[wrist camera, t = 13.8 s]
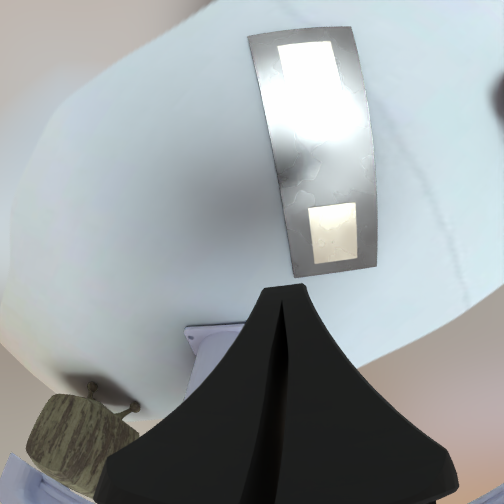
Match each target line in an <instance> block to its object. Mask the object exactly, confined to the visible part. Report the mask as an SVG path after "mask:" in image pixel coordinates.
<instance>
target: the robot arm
mask: <svg viewBox="0 0 504 504" xmlns="http://www.w3.org/2000/svg"><path fill="white" fill-rule="evenodd" d="M184 335H185V337H186V339H187V340H188V342H189V344H190V346H191V348H192V350H193V352H194V354H195V356H196V360H195V363H194V366H193V370H192V373H191V377H190V380H189V383H188V387H187V390H186V394H185V397H184V401H183V403H182V404H181V405H180V406H179V407H177V408H176V409H175V410H174V411H173V412H172V413H170V414H169V415H168V416H167V417H166V418H164V419H163V420H162V421H161V422H159V423H158V424H157V425H156V426H154V427H153V428H152V429H151V430H149V431H148V432H146V433H145V434H144V435H142V436H141V437H139V438H138V439H136V440H135V441H133V442H131V443H130V444H128V445H127V446H125V447H123V448H122V449H120V450H119V451H117V452H115V453H113V454H112V455H110V456H108V457H107V459H106V461H105V464H104V466H103V469H102V472H101V475H100V478H99V481H98V484H97V487H96V490H95V493H94V496H93V500H94V501H95V502H96V503H97V504H436V500H438V499H441V498H443V497H445V496H447V495H449V494H452V493H454V492H456V491H457V489H458V488H459V483H458V477H457V473H456V470H455V467H454V464H453V462H452V460H451V457H450V455H449V453H448V451H447V450H446V449H445V448H444V447H442V446H441V445H440V444H438V443H437V442H435V441H434V440H433V439H431V438H430V437H429V436H427V435H426V434H425V433H423V432H422V431H421V430H419V429H418V428H417V427H416V426H414V425H413V424H412V423H411V422H409V421H408V420H407V419H406V418H405V417H404V416H402V415H401V414H400V413H399V412H398V411H397V410H396V409H395V408H394V407H393V406H392V405H391V404H389V403H388V402H387V401H386V400H385V399H384V398H383V397H382V396H381V395H380V394H379V393H378V392H377V391H376V390H375V389H374V388H373V387H372V386H371V385H370V384H369V383H368V381H367V380H366V379H365V378H364V377H363V376H362V375H361V374H360V373H359V371H358V370H357V369H356V368H355V367H354V365H353V364H352V363H351V362H350V361H349V359H348V358H347V357H346V355H345V354H344V353H343V351H342V350H341V349H340V347H339V346H338V345H337V343H336V342H335V340H334V339H333V337H332V336H331V334H330V333H329V331H328V330H327V328H326V327H325V325H324V323H323V322H322V320H321V318H320V317H319V315H318V313H317V311H316V309H315V307H314V305H313V303H312V301H311V299H310V297H309V294H308V292H307V288H306V286H305V285H304V284H303V283H301V284H293V285H285V286H277V287H268V288H264V289H263V290H262V291H261V294H260V296H259V298H258V300H257V302H256V304H255V306H254V308H253V310H252V312H251V314H250V316H249V318H248V319H247V321H246V323H245V324H232V325H217V326H199V327H186V328H185V330H184ZM192 336H193V337H192ZM0 502H1V503H2V504H94V503H92V502H90V501H88V500H86V499H85V498H82V497H80V496H79V495H77V494H75V493H73V492H71V491H70V489H69V488H67V487H66V486H64V485H62V484H61V483H59V482H57V481H56V480H54V479H53V478H51V477H49V476H47V475H46V474H44V473H41V472H40V471H38V470H36V469H35V468H33V467H32V466H30V465H29V464H28V463H26V462H25V461H23V460H22V459H21V458H19V457H18V456H16V455H15V454H14V453H10V456H9V458H8V460H7V463H6V465H5V468H4V470H3V473H2V475H1V478H0ZM468 504H504V483H503V484H501V485H500V486H498V487H497V488H495V489H493V490H492V491H490V492H488V493H487V494H485V495H483V496H481V497H479V498H477V499H476V500H474V501H472V502H470V503H468Z"/></svg>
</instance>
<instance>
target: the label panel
mask: <svg viewBox="0 0 504 504" xmlns="http://www.w3.org/2000/svg"><path fill="white" fill-rule="evenodd" d="M248 40H249V44H250V48H251V52H252V56H253V61H254V65H255V69H256V73H257V78H258V82H259V87H260V91H261V96H262V100H263V105H264V110H265V114H266V119H267V124H268V129H269V134H270V139H271V144H272V149H273V154H274V159H275V165H276V170H277V175H278V181H279V186H280V192H281V198H282V203H283V209H284V215H285V221H286V227H287V233H288V240H289V246H290V252H291V259H292V266H293V272H294V278H299V277H307V276H314V275H322V274H329V273H336V272H343V271H350V270H357V269H363V268H370V267H376V266H377V189H376V172H375V159H374V148H373V138H372V130H371V122H370V115H369V108H368V102H367V96H366V90H365V85H364V79H363V74H362V69H361V65H360V60H359V56H358V52H357V48H356V44H355V40H354V36H353V32H352V29H351V27H316V28H303V29H293V30H284V31H276V32H270V33H263V34H258V35H252V36H248Z"/></svg>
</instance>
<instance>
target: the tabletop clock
mask: <svg viewBox="0 0 504 504" xmlns="http://www.w3.org/2000/svg"><path fill="white" fill-rule="evenodd" d="M87 387H88V390H89V391H90V392H89V395H88V398H83V397H79V396H74V395H67V394H56V395H53V396H52V397H51V398H50V399H49V400H48V402H47V403H46V405H45V407H44V408H43V410H42V412H41V413H40V415H39V417H38V419H37V421H36V423H35V425H34V427H33V429H32V431H31V434H30V436H29V439H28V441H27V445H26V451H27V453H28V455H29V456H30V458H31V459H32V461H33V462H34V464H35V465H36V466H37V467H38V468H39V469H40V470H41V471H42V472H44V473H45V474H46V475H47V476H49V477H51V478H53V479H54V480H56V481H57V482H59V483H61V484H62V485H64V486H66V487H67V488H70V489H72V490H74V491H76V492H79V493H81V494H83V495H85V496H87V497H90V498H92V499H93V496H94V493H95V490H96V487H97V484H98V481H99V478H100V475H101V472H102V469H103V466H104V464H105V461H106V459H107V457H108V456H110V455H112V454H113V453H115V452H117V451H119V450H120V449H122V448H123V447H125V446H127V445H128V444H130V443H131V442H133V441H135V440H136V439H138V438H139V433H138V432H137V431H136V430H134V429H133V428H132V427H130V426H129V425H128V424H126V423H125V422H124V421H122V419H123V418H124V417H125V416H126V415H128V414H129V413H130V412H134V413H137V412H139V411H140V405H139V404H138V403H135V402H133V403H131V404H130V409H127V410H125V411H123V412H121V413H115V414H113V413H112V412H111V411H110V410H109V409H107V408H106V407H105V406H104V405H103V404H101V403H100V402H98V401H96V400H95V399H93V398H92V396H93V392H96V391H97V385H96V384H95V383H94V382H90V383H88V385H87Z"/></svg>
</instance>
